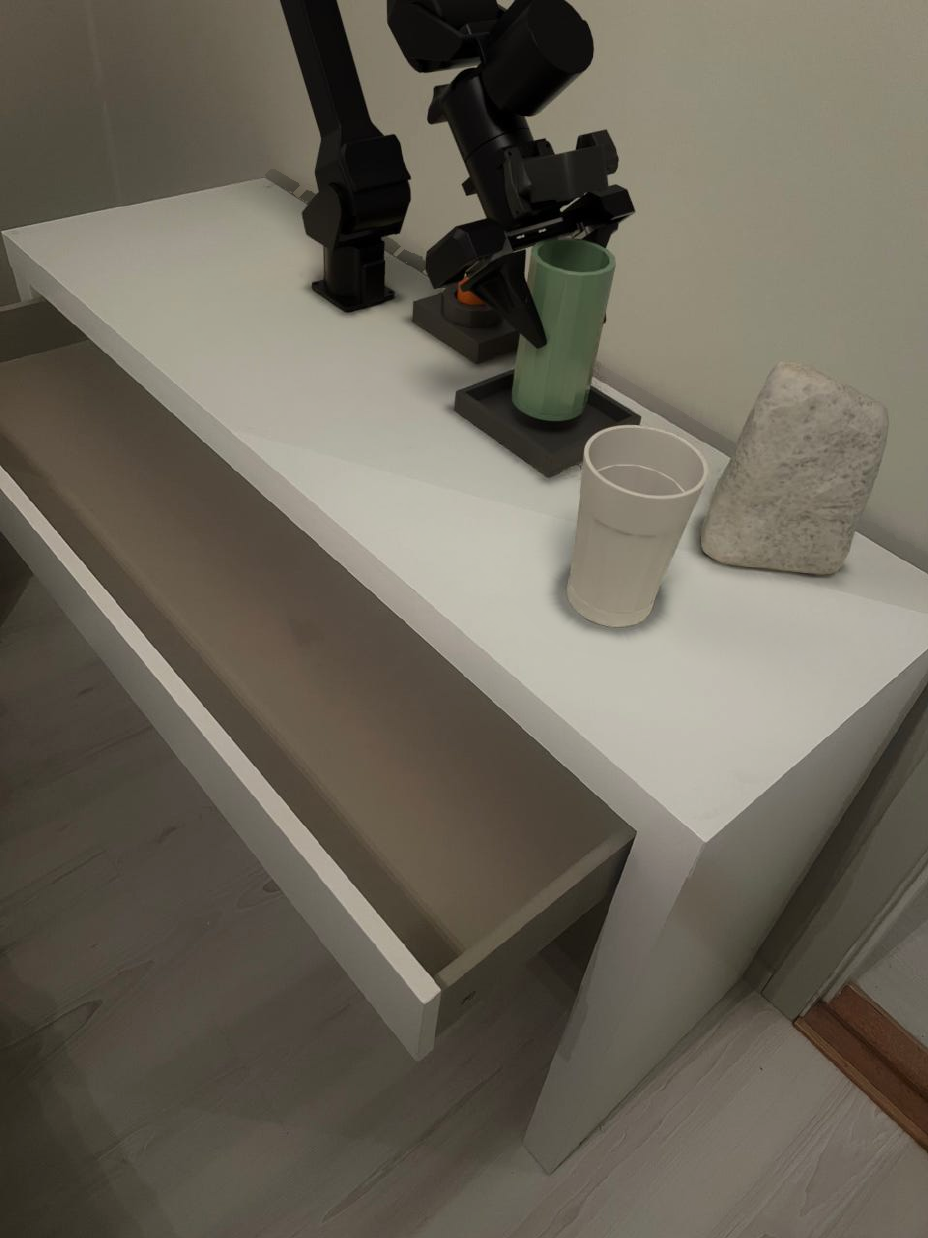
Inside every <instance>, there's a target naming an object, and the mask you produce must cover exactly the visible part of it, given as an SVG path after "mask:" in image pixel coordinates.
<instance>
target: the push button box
mask: <svg viewBox="0 0 928 1238" xmlns="http://www.w3.org/2000/svg"><path fill="white" fill-rule="evenodd" d="M457 294H458V283H455V284H452V285H449V286H446V287H444V289H443V290H442V291H441V292H439V293H435V294H432V295H429V296H426V297H422V298H419V299H416V300H413V302H412V320H411V321H412V322H413V323H414V324H415V325H417V326H419V327H420V328H422V329H423V330H424V331H426V332H428V333H429V334H430V335H432V336H434V337H435V338H437V339H438V340H440V341H441V342H443V343H444V344H446V345H447V346H448V347H450V348H452V349H453V350H455V351H456V352H458V353H459V354H461V355H462V356H464V357H465V358H467V359H468V360H470V362H473V363H474V364H476V365H479V364H481V363H484V362H487V361H489V360H493V359H495V358H498V357H500V356H503V355H505V354H508V353H511V352H514V351H517V348H518V341H519V334H520V333H519V332H518V331H517V330H516V329H515V328H514V327H512V326H511V325H510V324H509V323H508V322H507V321H506V320H505V319H504V318H503V317H501V316H500V315H499V314H498V313H497V312H496V311H494V310H493V309H492V308H491V307H489V306H488V305H487V304H483V305H471V304H467V303H463V302H461V301H459V300H458V298H457Z"/></svg>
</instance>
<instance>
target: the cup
mask: <svg viewBox="0 0 928 1238" xmlns="http://www.w3.org/2000/svg"><path fill="white" fill-rule="evenodd" d="M708 478H709V465H708V463H707V461H706V457H704V455H703V454H702V452H700V450H699V449H698V448H696V447H695V446H694V445H693V444H692V443H690V442H689V441H688V440H686V439H685V438H682V437H681V436H679V435H677V434H675V433H672V432H670V431H667V430H664V429H660V428H657V427H652V426H647V425H641V424H640V425H621V426H615V427H610V428H607V429H604V430H602V431H599V432H598V433H596V434H594V435H593V436H592V437H591V438H590V439H589V440H588V442H587V443H586V445H585V448H584V456H583V461H582V467H581V476H580V486H579V487H580V488H579V502H578V509H577V518H576V525H575V534H574V542H573V549H572V550H573V551H572V558H571V566H570V572H569V576H568V580H567V585H566V598H567V600H568V602H569V604H570V605H571V607H572V608H573V609H574V611H576V613H578V614H579V615H580V616H582V617H583V618H585V619H586V620H588V621H591V622H592V623H595V624H597V625H601V626H606V627H611V628H625V627H632V626H634V625H637V624H639V623H641V622H643V621H644V620H646V618H648V617H649V615H650V614H651V612H652V609H653V607H654V603H655V600H656V598H657V595H658V592H659V591H660V588H661V585H662V583H663V580H664V578H665V576H666V574H667V572H668V569H669V566H670V564H671V562H672V560H673V557H674V555H675V553H676V550H677V548H678V545H679V543H680V541H681V539H682V536H683V534H684V533H685V529H686V527H687V525H688V522H689V520H690V518H691V515H692V514H693V512H694V509H695V507H696V505H697V502H698V501H699V498H700V496H701V494H702V491H703V489H704V487H705V485H706V483H707V481H708Z"/></svg>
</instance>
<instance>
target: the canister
mask: <svg viewBox="0 0 928 1238" xmlns="http://www.w3.org/2000/svg"><path fill="white" fill-rule="evenodd" d="M616 266H617V262H616V257H615V255H614V254H613V253H612V252H611V251H610V250H609V249H608V248H607V247H606V248H604V247H602V246H600V245H598V244H596V243H592V242H589V241H585V240H582V239H575V238H566V237H562V238H549V239H546V240H542V241H539V242H537V243H536V244H535V245H534V246H532V247H531V250H530V257H529V264H528V271H527V278H526V282H527V285H528V287H529V290H530V293H531V295H532V298H533V300H534V303H535V306H536V308H537V311H538V314H539V316H540V319H541V322H542V324H543V328H544V331H545V335H546V339H547V345H546V346H544V347H542V348H540V349H536V348H535V347H534V346H533V345H532V344H531V343H530V342H529V341H528V340H527V339H525V338H524V337H523V336H522V335H521V334H519V341H518V348H517V350H516V354H515V355H516V356H515V363H514V368H515V369H514V368H513V369H514V376H513V383H512V392H511V399H512V402H513V404H514V405H515V406H516V407H517V408H518V409H519V410H520V411H522V412H523V413H525V414H527V415H529V416H531V417H534V418H537V419H541V420H547V421H564V420H569V419H572V418H575V417H577V416H579V415H580V414H581V413H582V412H583V411H584V409H585V406H586V403H587V400H588V395H589V390H590V385H592V380H593V375H594V370H595V365H596V362H597V361H596V360H597V355H598V353H599V352H598V351H599V347H600V342H601V338H602V332H603V328H604V324H603V323H604V319H605V314H606V315H607V310H608V304H609V299H610V293H611V289H612V285H613V281H614V275H615V271H616Z"/></svg>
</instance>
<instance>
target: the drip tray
mask: <svg viewBox="0 0 928 1238" xmlns="http://www.w3.org/2000/svg"><path fill="white" fill-rule="evenodd" d="M514 369H515V367H514V368H512V369H510V370H509V369H508V370H506V371H504V372H501V373H499V374H496V375H493V376H492V377H491V376H490V377H488V378H486V379H483V380H481V381H478V382H476V383H473V384H470V385H467V386H465V387H462V388H459V389H457V390H455V395H454V407H453V411H454V412H456V413H457V414H458V415H460V416H461V417H463V418H464V419H465V420H467V421H468V422H470V423H471V424H473V425H474V426H475V427H476V428H478V429H479V430H481V431H482V432H483V433H485V434H487V435H488V436H489V437H491V438H492V439H493V440H495V441H496V442H498V443H499V444H500V445H501V446H503V447H504V448H507V450H508V451H509V452H511V453H513V454H514V455H516V456H517V457H519V458H520V459H521V460H523V461H524V462H525V463H528V464H529V465H530V466H531V467H533V468H534V469H536V471H538V472H540V473H541V474H542V475H544V476H545V477H547V479H548V478H551V477H553V476H556V475H558V474H559V473H561V472H563V471H566V470H568V469H570V468H572V467H574V466H576V465H578V464H580V463H583V456H584V448H585V445H586V443H587V442H588V440H589V439H590V438H591V437H592V436H593V435H594V434H596V433H598V432H599V431H602V430H604V429H607V428H610V427H615V426H621V425H640V426H641V421H642V416H641V415H640V414H638V413H636V412H635V411H633V410H632V409H631V408H628V407H627V406H626V405H624V404H623V403H621V402H619V401H618V400H617V399H614V397H613V398H612V397H611V396H609V395H608V394H606V393H605V392H603V391H602V390H600V389H598V388H597V387H595V386H593V385H592V384H591V385H590V390H589V395H588V400H587V403H586V406H585V409H584V411H583V412H582V413H581V414H580V415H579V416H577V417H575V418H572V419H569V420H564V421H547V420H541V419H537V418H534V417H531V416H529V415H527V414H525V413H523V412H522V411H520V410H519V409H518V408H517V407H516V406H515V405H514V404H513V402H512V399H511V392H512V383H513V376H514Z"/></svg>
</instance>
